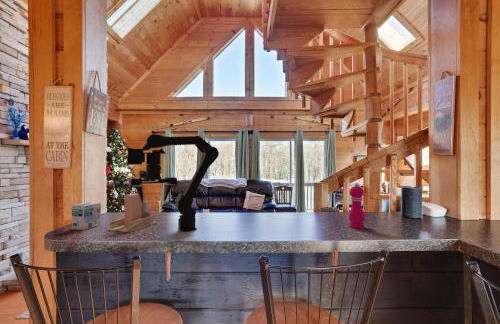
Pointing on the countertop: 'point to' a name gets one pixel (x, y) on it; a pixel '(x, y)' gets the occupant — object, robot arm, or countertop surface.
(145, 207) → the book trough
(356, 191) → the pepper mill
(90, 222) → the light bulb box
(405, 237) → the countertop surface
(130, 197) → the salmon pink rectangular block
